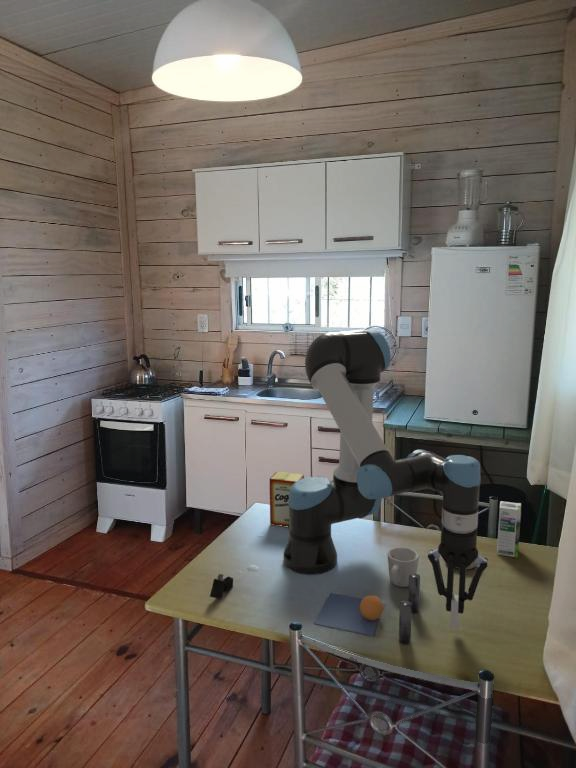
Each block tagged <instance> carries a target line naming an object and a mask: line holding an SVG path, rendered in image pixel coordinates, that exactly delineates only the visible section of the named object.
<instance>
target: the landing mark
mask: <svg viewBox="0 0 576 768" xmlns="http://www.w3.org/2000/svg"><path fill="white" fill-rule="evenodd" d="M363 598H364V597H357V596H352V595H347V594H341V593H334V592H331V591H330V593H329V594H328V596H327V598H326V599H325V602H324V603H323V605H322V607H321V609H320V611H319V613H318V614H317V616H316V618H315V620H314V622H313V625H317V626H321V627H322V626H323V627H326V626H327V627H326V628H331V627H333V628H332V629H336V628H338V629H337V630H341V629H342V630H341V631H346V632H350V631H351V632H352V633H356V634H360V635H361V634H362V635H366V636H370V637H373V636H374V634H375V632H376V630H377V629H376V628H377V626H378V623H379V621H380V618H378V619H376V620H368V619H366V618H364V617H363V615H362V614H361V612H360V603H361V601H362V600H363ZM381 602H382V604H383V609H384V608H385V604H386V602H384V601H381ZM351 632H350V633H351Z"/></svg>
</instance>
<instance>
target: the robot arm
mask: <svg viewBox="0 0 576 768" xmlns="http://www.w3.org/2000/svg"><path fill="white" fill-rule="evenodd" d="M391 358H392V357H391V348H390V345H389V343H388V341H387V340H386V337H385V336H384V335H383V333H381V332H380V331H378V330H375V329H354V330H344V331H328V332H325V333H322V334H321V335H319V336H317V337H316V338H315V339H314V340H313V341H312V342H311V343H310V345H309V347H308V349H307V351H306V354H305V358H304V370H305V374H306V377H307V380H308V381H309V382H310V385H311V388H312V389H314V390H316V391H318V392H319V394H320V396H321V398H322V399H323V401H324V403H325V405H326V407H327V408H328V409H327V410H329V411H328V412H330V414H331V416H332V418H333V420H334V422H335V424H336V426H337V427H338V429H339V430H340V432H339V433H340V434H339V435H340V436H339V458H338V459H339V460H338V461H339V462H338V466H337V467H336V468H334V470H333V476H332V480H330V479H329V478H327V477H324V476H316V477H315V476H308V477H304V478H303V479H301V480H298V481H297V482H295V483H294V484H293V485H292V487H291V488H290V492H289V501H288V503H289V527H288V528H289V529H288V530H289V531H288V533H289V535H288V539H287V542H286V545H285V547H284V550H283V565H284V566H285V567H286V569H288V570H290V571H291V572H294V573H298V574H302V575H320V574H324V573H327V572H330V571H332V570H333V569H334V568H336V566H337V565H338V553H337V549H336V545H335V543H334V541H333V538H332V525H333V524H338V523H343V522H346V521H351V520H355V519H356V520H357V519H363V518H365V517H367V516H371V515H373V514H375V513H377V511H378V510H379V508H380V507H381V505H382V500H383V499H387V498H389V497H391V496H396V495H400V494H405V493H406V494H407V493H412V492H418V491H421V490H426V489H430V490H432V491H434V492H436V493H438V494H441V495H442V504H441V505H442V507H441V509H442V510H441V524H442V525H441V527H440V528H441V530H440V543H439V545H438V547H437V548H436V549H429V551H428V554H427V559H428V560H429V562H430V563H431V566H432V570H433V575H434V580H435V585H436V589H437V593H438V595H439V596H444V597H445V599H446V600H445V601H446V602H445V610H446V612H450V623H449V624H450V625H449V627H450V628H455V629H457V628H458V623H459V614H460V615H461V614H464V611H465V601H472V600H473V599H474V596H475V593H476V591H477V588H478V584H479V582H480V579H481V577H482V574H483V572H484V571H485V570H486V569H487V568H488V562H489V560H488V558H487V557H483V556H482V555H480V554H479V550H478V548H477V540H478V538H477V537H478V530H477V529H478V525H479V503H480V501H479V500H480V490H481V489H480V487H481V481H482V478H481V463H480V461H479V460H478V459H476V458H475V457H473V456H468V455H465V454H451V455H448V456H447V457H446V458H444V457H442V456H440V455H438V454H436V453H434V452H432V451H430V450H429V451H427V450H425V449H415V450H414V451H413V452H411V453H409V454H408V455H407V456H406V458H399V459H394V458H393V456H392V455H391V453H390V450H389V449H388V448H387V446H386V444H385V442H384V441H383V439H382V437H381V436H380V434H379V432H378V430H377V429H376V427H375V425H374V423H373V412H374V411H373V410H374V394H375V392H374V391H375V387H376V386H377V385H378V384H379V383H380V382H381V373H383V372H385V371H387V370H388V368H389V367H390V363H391ZM440 556H441V559H442V560H443V561H444V563H445V564H446V565H447V574H446V575H447V576H446V577H447V580H446V586H445V582H444V581H445V580H444V577H443V574H442V572H443V571H442V568H441V563H440ZM475 560H476V567H475V570H474V573H473V576H472V578H471V581H470V584H469V587H468V590H467V591H466V581H467V579H466V578H467V569H466V568H467V567H468V566H469V565H471V564H472V563H473V562H474V561H475ZM456 567H458V568H460V569H459V577H458V578H459V579H458V580H459V581H458V582H459V584H458V594H454V580H455V579H454V577H455V568H456ZM458 568H457V569H458Z"/></svg>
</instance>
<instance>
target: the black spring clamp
mask: <svg viewBox="0 0 576 768" xmlns="http://www.w3.org/2000/svg"><path fill="white" fill-rule="evenodd" d="M231 588H232V589H233V588H234V577H231V576H229V575H228V576H227V577H224V574H221V573H219V574H218V575H217V578H214V579H213V582H212V587H211V590H210V594H209V597H210V598H214V599H221V598H222V599H223V595H224V593H228V592H230V591H231V590H232V589H231ZM230 589H231V590H230ZM229 590H230V591H229ZM222 599H221V600H222Z"/></svg>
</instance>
